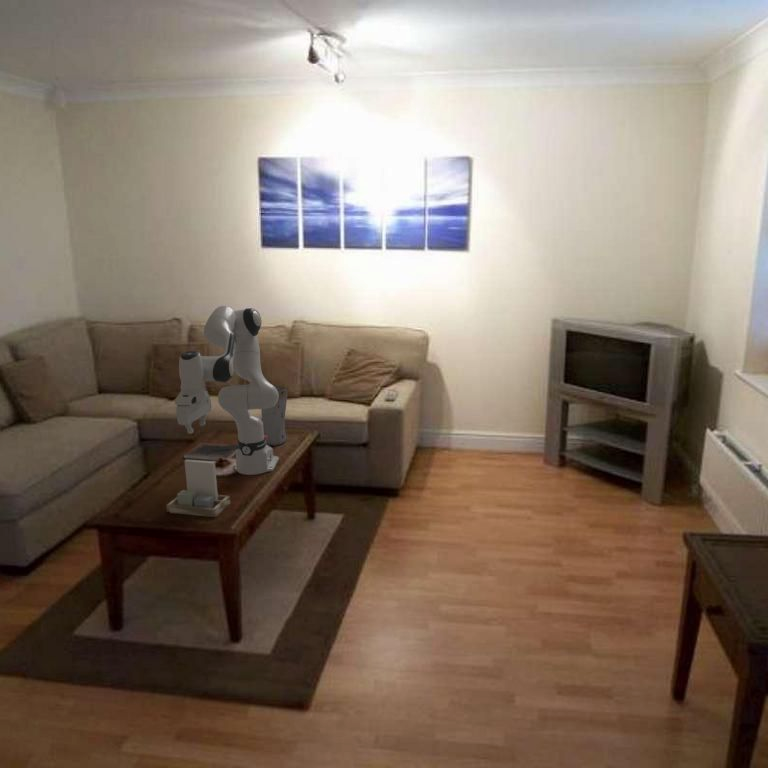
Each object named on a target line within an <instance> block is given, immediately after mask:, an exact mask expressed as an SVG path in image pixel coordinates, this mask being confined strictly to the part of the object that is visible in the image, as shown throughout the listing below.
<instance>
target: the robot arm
mask: <svg viewBox="0 0 768 768" xmlns="http://www.w3.org/2000/svg"><path fill="white" fill-rule="evenodd" d="M261 327H262V317H261V315H260V313H259V311H258V310H256V309H255V308H251V307H249V308H248V307H247V308H245V309H238V310H233V309H232V308H231V307H229V306H226V305H220V306H218V307H216V308H215V309H214V310H213V311H212V312H211V314H210V315H209V317H208V318H207V321H206V322H205V325H204V327H203V328H204V329H203V336H204V338H205V339H206V341H207V342H208V343H209V344H211V345H212V346H214V347H218V348H222V349H223V352H222V355H221V354H220V355H215V356H214V355H213V356H211V355H206V356H205V355H201V353H200V352H199V351H196V350H195V351H194V350H189V351H185V352H183V353H181V354H180V356H179V360H178V361H179V362H178V373H179V379H180V392H179V394H178V395H177V396H176V398H175V399H174V405H176V408H175V412H176V420H177V423H178V425H180V426H184V427H185V429H186V431H187V435H189V434H190V435H192V434H193V433H195V432H194V428H193V427H192V425H193V424H192V423H193V422H195V421H196V420H198V419H200V421H199V426H200V427H204V426H206V420H207V414H208V413H209V412H211V411H212V407H213V405H212V401H211V396H210V394H209V391H208V390H207V389H206V385H205V384H206V383H205V382H218V383H220V382H221V383H227V382H228V381H229V380H231V379H232V378H233V376H234V374H236V375H237V376H238V377H240V378H241V379H244V380H246V381H248V382H249V383H248V384H232V385H227V386H225V387H221V389H220V390H219V392H218V394H217V395H218V396H217V403H218V404H219V406H220V408H222V410H224V411H225V412H227V413H228V414H230V416H231V417H232V418H233V420H234V421H235V424H236V429H237V436H238V437H237V438H238V440H237V445H238V448H239V449H238V450H237V451H236V454H235V464H236V466H235V467H236V468H237V470H236V471H237V472H238V474H242V475H248V476H254V475H255V476H256V475H260V474H264V473H267V472H274V470H275V468H276V466H277V464H278V462H279V459H280V458H279V456H277V455H275V454H274V449H273V447H272V446H270V445H267V444H266V440H267V439H268V436H267V435H266V436H264V430H263V422H262V418H259V417H258V416H256V415H252V413H250V412H249V411H250V410H252V411H253V410H261V409H266V408H270V407H274V406H275V405H276V403H277V402H278V398H279V395H278V391H277V389H276V388H275V387H274V384H272V383H270V382H269V381H268V380H267V379H266V378H265V376H264V375H263V371H262V365H261V349H260V343H259V338H258V336H257V335H258V334H259V331H260V329H261ZM234 372H235V373H234Z"/></svg>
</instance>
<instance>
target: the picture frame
mask: <svg viewBox="0 0 768 768" xmlns="http://www.w3.org/2000/svg"><path fill="white" fill-rule="evenodd" d="M238 449H239V448H238V444H225V443H224V444H222V443H210V442H200V443H199V444H197V445H195V447H193V448H191V449H190V450H188V451H187V452H186V453H184V455H183V456H184V459H190V460H204V461H216V460H215V459H218V458H224V459H229V460H230V459H231V458H233V457H234V456H236V451H237V450H238Z"/></svg>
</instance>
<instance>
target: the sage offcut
mask: <svg viewBox="0 0 768 768" xmlns="http://www.w3.org/2000/svg"><path fill="white" fill-rule="evenodd" d="M176 497H177V500H178V505H184V506H194V499H195V498H196V497H197V494H196V491H187V489H186V490H185V489H184V490H183V489H182V490H180V491H179V492H177V494H176ZM194 507H195V506H194Z"/></svg>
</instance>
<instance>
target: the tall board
mask: <svg viewBox="0 0 768 768" xmlns="http://www.w3.org/2000/svg"><path fill="white" fill-rule="evenodd" d="M184 468H185V469H184V471H185V480H186V490H187V491H196V494H197V496H199V495H202V496H213V499H214V500H218V495H219V491H218V484H217V471H216V461H215V460H202V459H189V458H186V459H185V460H184Z"/></svg>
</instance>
